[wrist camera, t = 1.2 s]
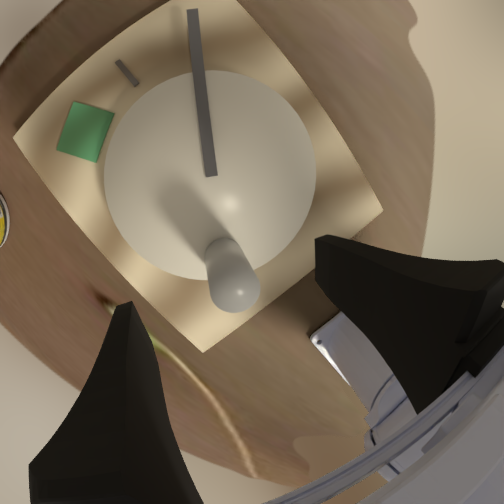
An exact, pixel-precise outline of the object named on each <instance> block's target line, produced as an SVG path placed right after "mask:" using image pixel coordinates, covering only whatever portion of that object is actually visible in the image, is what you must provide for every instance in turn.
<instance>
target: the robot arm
mask: <svg viewBox="0 0 504 504" xmlns="http://www.w3.org/2000/svg"><path fill="white" fill-rule="evenodd" d="M314 240H315V280H316V282H317V283H318V285H319V286H320V287H321V289H322V290H323V292H324V293H325V294H326V295H327V297H328V298H329V299H330V300H331V301H332V302H333V303H334V304H335V305H336V306H337V307H338V308H339V309H340V310H341V312H340V313H339V314H337V315H336V316H335V317H334V318H332V319H331V320H330V321H329V322H327V323H326V324H325V325H323V326H322V327H321V328H320V329H318V330H317V331H316V332H314V333H313V334H312V335H311V337H310V340H311V342H312V343H313V344H314V345H315V346H316V348H317V349H318V350H319V351H320V352H321V353H322V354H323V356H324V357H325V358H326V359H327V360H328V361H329V363H330V364H331V365H332V366H333V367H334V368H335V369H336V371H337V372H338V373H339V374H340V375H341V376H342V378H343V379H344V380H345V381H346V382H347V383H348V384H349V385H350V386H351V387H352V389H353V390H354V392H355V393H356V394H357V396H358V397H359V399H360V400H361V402H362V403H363V405H364V406H365V408H366V409H367V410H368V412H369V414H368V415H367V416H366V417H365V420H366V422H367V423H368V425H369V426H370V429H369V430H368V431H367V432H366V433H365V436H364V442H365V443H364V448H365V453H363V454H361V455H360V456H358V457H356V458H355V459H353V460H351V461H350V462H348V463H346V464H345V465H343V466H341V467H339V468H337V469H336V470H334V471H332V472H330V473H328V474H326V475H325V476H323V477H321V478H319V479H317V480H315V481H313V482H311V483H309V484H307V485H305V486H303V487H300V488H298V489H296V490H294V491H292V492H289V493H287V494H285V495H283V496H280V497H278V498H275V499H273V500H271V501H268V502H266V503H263V504H321V503H323V502H325V501H327V500H329V499H331V498H332V497H334V496H336V495H338V494H340V493H341V492H343V491H345V490H347V489H349V488H350V487H352V486H354V485H355V484H357V483H359V482H360V481H362V480H364V479H365V478H367V477H368V476H370V475H371V474H373V473H375V472H376V471H377V472H378V473H379V474H380V475H382V477H383V478H385V479H386V480H387V481H388V483H386V484H385V485H384V486H382V487H381V488H379V489H378V490H376V491H375V492H373V493H372V494H370V495H369V496H367V497H366V498H364V499H363V500H361V501H359V502H358V503H356V504H504V308H502V307H501V305H502V302H503V300H504V263H503V262H502V261H499V260H497V259H495V260H482V261H449V260H438V259H428V258H422V257H417V256H411V255H406V254H401V253H397V252H393V251H389V250H385V249H381V248H377V247H374V246H370V245H367V244H363V243H360V242H356V241H353V240H350V239H346V238H342V237H338V236H334V235H329V234H326V235H323V236H321V237H318V238H315V239H314ZM318 340H320V341H319V342H317V341H318ZM29 489H30V502H31V504H204V503H203V501H202V499H201V497H200V495H199V493H198V491H197V489H196V487H195V485H194V483H193V481H192V478H191V476H190V474H189V472H188V470H187V467H186V465H185V462H184V460H183V457H182V455H181V452H180V450H179V447H178V445H177V442H176V439H175V436H174V433H173V431H172V428H171V425H170V421H169V417H168V413H167V408H166V403H165V398H164V393H163V388H162V382H161V377H160V371H159V366H158V362H157V358H156V355H155V351H154V348H153V344H152V341H151V339H150V337H149V335H148V333H147V331H146V329H145V327H144V325H143V323H142V321H141V319H140V317H139V314H138V312H137V310H136V308H135V306H134V304H133V302H132V301H130V302H127V303H124V304H121V305H118V306H116V309H115V311H114V314H113V317H112V319H111V322H110V325H109V328H108V331H107V334H106V336H105V339H104V341H103V344H102V347H101V350H100V352H99V354H98V357H97V359H96V362H95V364H94V366H93V369H92V371H91V373H90V375H89V378H88V380H87V382H86V384H85V386H84V387H83V389H82V391H81V393H80V395H79V397H78V398H77V400H76V402H75V403H74V405H73V407H72V408H71V410H70V412H69V413H68V415H67V417H66V418H65V420H64V421H63V422H62V424H61V425H60V427H59V428H58V430H57V431H56V432H55V434H54V435H53V436H52V438H51V439H50V441H49V442H48V443H47V444H46V445H45V446H44V448H43V449H42V450H41V451H40V452H39V454H38V455H37V456H36V457H35V458H34V459H33V461H32V462H31V463H30V464H29Z"/></svg>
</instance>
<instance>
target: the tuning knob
mask: <svg viewBox="0 0 504 504" xmlns="http://www.w3.org/2000/svg"><path fill="white" fill-rule="evenodd" d="M186 12H187V23H188V34H189V44H190V54H191V64H192V72H191V73H186V74H182V75H179V76H177V77H174V78H171V79H169V80H167V81H165V82H163V83H161V84H159V85H157V86H155V87H154V88H152V89H151V90H149V91H148V92H147V93H145V94H144V95H143V96H142V97H141V98H139V99H138V100H137V101H136V102H135V103H134V104H133V105H132V106H131V108H130V109H129V110H128V111H127V112H126V114H125V115H124V116H123V118H122V119H121V121H120V123H119V124H118V126H117V127H116V130H115V132H114V134H113V136H112V138H111V141H110V144H109V147H108V150H107V154H106V160H105V166H104V188H105V196H106V200H107V204H108V208H109V211H110V214H111V216H112V219H113V221H114V223H115V225H116V227H117V228H118V230H119V232H120V234H121V235H122V237H123V238H124V239H125V240H126V242H127V243H128V244H129V245H130V247H131V248H132V249H133V250H135V251H136V252H137V253H138V254H139V255H140V256H141V257H142V258H144V259H145V260H146V261H148V262H149V263H150V264H152V265H154V266H156V267H158V268H159V269H161V270H163V271H166V272H168V273H171V274H173V275H176V276H180V277H184V278H188V279H196V280H208V284H209V290H210V296H211V299H212V301H213V303H214V304H215V305H216V306H217V307H218V308H219V309H221V310H223V311H225V312H229V313H238V312H242V311H245V310H247V309H249V308H250V307H251V306H253V305H254V304H255V302H256V301H257V299H258V297H259V295H260V289H261V288H260V282H259V279H258V278H257V276H256V274H255V272H254V270H255V269H257V268H258V267H260V266H262V265H264V264H266V263H267V262H269V261H270V260H271V259H273V258H274V257H276V256H277V255H278V254H279V253H280V252H281V251H282V250H283V249H285V248H286V246H287V245H288V244H289V243H290V242H291V241H292V240H293V238H294V237H295V236H296V234H297V233H298V231H299V230H300V228H301V227H302V225H303V223H304V221H305V219H306V217H307V215H308V212H309V210H310V207H311V204H312V200H313V196H314V192H315V184H316V161H315V155H314V149H313V146H312V143H311V139H310V136H309V134H308V132H307V130H306V127H305V125H304V124H303V122H302V120H301V119H300V117H299V115H298V114H297V113H296V111H295V110H294V109H293V108H292V106H291V105H290V104H289V103H288V102H287V101H286V100H285V99H284V98H283V97H282V96H281V95H280V94H278V93H277V92H276V91H274V90H273V89H271V88H270V87H269V86H267V85H265V84H263V83H261V82H259V81H258V80H256V79H253V78H250V77H248V76H245V75H242V74H238V73H233V72H228V71H217V70H208V71H205V70H204V61H203V52H202V43H201V33H200V24H199V14H198V8H196V9H187V10H186Z"/></svg>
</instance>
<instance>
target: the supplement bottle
mask: <svg viewBox="0 0 504 504" xmlns="http://www.w3.org/2000/svg"><path fill="white" fill-rule="evenodd" d="M9 225H10V219H9V211H8V207H7V205H6V202H5V200H4V198H3V197H2V195H1V194H0V247H1V246H2V245H3V244H4V242H5V240H6V238H7V236H8V232H9Z"/></svg>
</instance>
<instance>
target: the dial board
mask: <svg viewBox="0 0 504 504" xmlns="http://www.w3.org/2000/svg"><path fill="white" fill-rule="evenodd" d="M196 8H198V14H199V24H200V33H201V43H202V52H203V61H204V70H205V71H208V70H217V71H228V72H233V73H238V74H242V75H245V76H248V77H250V78H253V79H256V80H258V81H259V82H261V83H263V84H265V85H267V86H269V87H270V88H271V89H273V90H274V91H276V92H277V93H278V94H280V95H281V96H282V97H283V98H284V99H285V100H286V101H287V102H288V103H289V104H290V105H291V106H292V108H293V109H294V110H295V111H296V113H297V114H298V115H299V117H300V119H301V120H302V122H303V124H304V125H305V127H306V130H307V132H308V134H309V136H310V139H311V143H312V146H313V149H314V155H315V161H316V184H315V192H314V196H313V200H312V204H311V207H310V210H309V212H308V215H307V217H306V219H305V221H304V223H303V225H302V227H301V228H300V230H299V231H298V233H297V234H296V236H295V237H294V238H293V240H292V241H291V242H290V243H289V244H288V245H287V246H286V248H285V249H283V250H282V251H281V252H280V253H279V254H278V255H277V256H276V257H274V258H273V259H271V260H270V261H269V262H267V263H266V264H264V265H262V266H260V267H258V268H257V269H255V270H254V272H255V274H256V276H257V278H258V279H259V282H260V288H261V289H260V295H259V297H258V299H257V301H256V302H255V304H254V305H253V306H251V307H250V308H249V309H247V310H245V311H242V312H238V313H229V312H225V311H223V310H221V309H219V308H218V307H217V306H216V305H215V304H214V303H213V301H212V299H211V296H210V290H209V284H208V280H196V279H188V278H184V277H180V276H176V275H173V274H171V273H168V272H166V271H163V270H161V269H159V268H158V267H156V266H154V265H152V264H150V263H149V262H148V261H146V260H145V259H144V258H142V257H141V256H140V255H139V254H138V253H137V252H136V251H135V250H133V249H132V248H131V247H130V245H129V244H128V243H127V242H126V240H125V239H124V238H123V237H122V235H121V234H120V232H119V230H118V228H117V227H116V225H115V223H114V221H113V219H112V216H111V214H110V211H109V208H108V204H107V200H106V196H105V188H104V166H105V160H106V154H107V150H108V147H109V144H110V141H111V138H112V136H113V134H114V132H115V130H116V127H117V126H118V124H119V123H120V121H121V119H122V118H123V116H124V115H125V114H126V112H127V111H128V110H129V109H130V108H131V106H132V105H133V104H134V103H135V102H136V101H137V100H138V99H139V98H141V97H142V96H143V95H144V94H145V93H147V92H148V91H149V90H151V89H152V88H154V87H155V86H157V85H159V84H161V83H163V82H165V81H167V80H169V79H171V78H174V77H177V76H179V75H182V74H186V73H191V72H192V64H191V54H190V44H189V34H188V23H187V12H186V10H187V9H196ZM13 139H14V140H15V142H16V144H17V145H18V147H19V148H20V149H21V151H22V152H23V154H24V155H25V157H26V158H27V160H28V161H29V163H30V164H31V165H32V167H33V168H34V170H35V171H36V172H37V174H38V175H39V176H40V178H41V179H42V180H43V182H44V183H45V185H46V186H47V187H48V188H49V190H50V191H51V192H52V194H53V195H54V196H55V198H56V199H57V200H58V201H59V203H60V204H61V205H62V206H63V208H64V209H65V210H66V211H67V213H68V214H69V215H70V216H71V218H72V219H73V220H74V221H75V222H76V224H77V225H78V226H79V227H80V228H81V230H82V231H83V232H84V233H85V234H86V235H87V237H88V238H89V239H90V240H91V241H92V242H93V244H94V245H95V246H96V247H97V248H98V249H99V250H100V251H101V253H102V254H103V255H104V256H105V257H106V258H107V259H108V260H109V261H110V263H111V264H112V265H113V266H114V267H115V268H116V269H117V270H118V271H119V272H120V273H121V274H122V275H123V276H124V277H125V279H126V280H127V281H128V282H129V283H130V284H131V285H132V286H133V287H134V288H135V289H136V290H137V291H138V292H139V293H140V294H141V295H142V296H143V297H144V298H145V299H146V300H147V301H148V302H149V303H150V304H151V305H152V306H153V307H154V308H155V309H156V310H157V311H158V312H159V313H160V314H161V315H162V316H163V317H164V318H166V319H167V320H168V321H169V322H170V323H171V324H172V325H173V326H174V327H175V328H176V329H177V330H178V331H179V332H181V333H182V334H183V335H184V336H185V337H186V338H187V339H188V340H189V341H190V342H192V343H193V344H194V345H195V346H196V347H197V348H198V349H199V350H201V351H202V352H205V351H206V350H208V349H209V348H210V347H212V346H213V345H215V344H216V343H217V342H219V341H220V340H221V339H223V338H224V337H226V336H227V335H228V334H230V333H231V332H232V331H234V330H235V329H236V328H238V327H239V326H240V325H242V324H243V323H245V322H246V321H247V320H249V319H250V318H251V317H252V316H254V315H255V314H256V313H258V312H259V311H260V310H262V309H263V308H264V307H266V306H267V305H268V304H270V303H271V302H272V301H273V300H275V299H276V298H277V297H279V296H280V295H281V294H283V293H284V292H285V291H286V290H288V289H289V288H290V287H291V286H293V285H294V284H295V283H297V282H298V281H299V280H300V279H302V278H303V277H304V276H305V275H307V274H308V273H309V272H310V271H312V270H313V269H314V268H315V240H314V239H315V238H318V237H321V236H323V235H326V234H329V235H334V236H338V237H342V238H346V239H351V238H352V237H353V236H354V235H355V234H356V233H358V232H359V231H360V230H361V229H362V228H364V227H365V226H366V225H367V224H368V223H369V222H371V221H372V220H373V219H374V218H375V217H376V216H378V215H379V214H380V213H381V212H382V211H383V209H382V207H381V205H380V203H379V201H378V199H377V197H376V195H375V193H374V192H373V190H372V188H371V186H370V184H369V182H368V181H367V179H366V177H365V175H364V173H363V172H362V170H361V168H360V166H359V165H358V163H357V161H356V160H355V158H354V156H353V154H352V153H351V151H350V149H349V148H348V146H347V145H346V143H345V141H344V140H343V138H342V136H341V135H340V133H339V132H338V130H337V129H336V127H335V125H334V124H333V122H332V121H331V119H330V118H329V116H328V115H327V113H326V112H325V110H324V109H323V107H322V106H321V104H320V103H319V102H318V100H317V99H316V97H315V96H314V94H313V93H312V92H311V90H310V89H309V87H308V86H307V85H306V83H305V82H304V81H303V79H302V78H301V77H300V75H299V74H298V73H297V71H296V70H295V69H294V67H293V66H292V65H291V63H290V62H289V61H288V60H287V58H286V57H285V56H284V54H283V53H282V52H281V51H280V50H279V48H278V47H277V46H276V45H275V43H274V42H273V41H272V40H271V39H270V37H269V36H268V35H267V34H266V33H265V32H264V30H263V29H262V28H261V27H260V26H259V25H258V24H257V22H256V21H255V20H254V19H253V18H252V17H251V16H250V15H249V14H248V12H247V11H246V10H245V9H244V8H243V7H242V6H241V5H240V4H239V3H238V2H237V1H236V0H170V1H169V2H167V3H165V4H164V5H162V6H160V7H159V8H157V9H155V10H154V11H152V12H151V13H149V14H148V15H146V16H144V17H143V18H141V19H140V20H138V21H137V22H136V23H134V24H133V25H131V26H130V27H128V28H127V29H126V30H124V31H123V32H121V33H120V34H119V35H117V36H116V37H115V38H113V39H112V40H111V41H109V42H108V43H107V44H106V45H104V46H103V47H102V48H101V49H99V50H98V51H97V52H96V53H94V54H93V55H92V56H91V57H90V58H89V59H87V60H86V61H85V62H84V63H83V64H82V65H81V66H79V67H78V68H77V69H76V70H75V71H74V72H73V73H72V74H71V75H70V76H69V77H67V78H66V79H65V80H64V81H63V82H62V83H61V84H60V85H59V86H58V87H57V88H56V89H55V90H54V91H53V92H52V93H51V94H50V95H49V96H48V97H47V98H46V100H45V101H44V102H43V103H42V104H41V105H40V106H39V107H38V108H37V109H36V110H35V112H34V113H33V114H32V115H31V116H30V117H29V118H28V120H27V121H26V122H25V123H24V124H23V126H22V127H21V128H20V129H19V130H18V132H17V133H16V134H15V135H14V137H13Z"/></svg>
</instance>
